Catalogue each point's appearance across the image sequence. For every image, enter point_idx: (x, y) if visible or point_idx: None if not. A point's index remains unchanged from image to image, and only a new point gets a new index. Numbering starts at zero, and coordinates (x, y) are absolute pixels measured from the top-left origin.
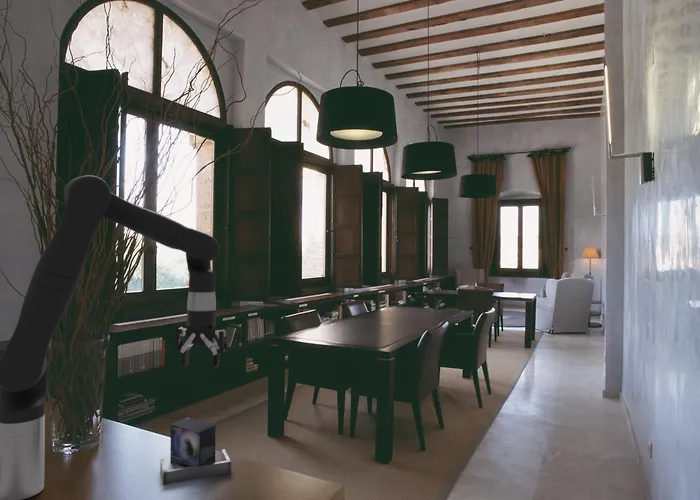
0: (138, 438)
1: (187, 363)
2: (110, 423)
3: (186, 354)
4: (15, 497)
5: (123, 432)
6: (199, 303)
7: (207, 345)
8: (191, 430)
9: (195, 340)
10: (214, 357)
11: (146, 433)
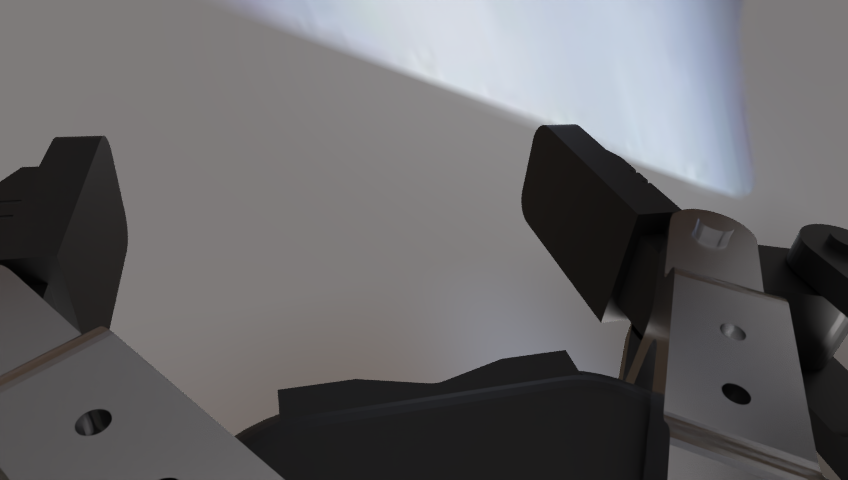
0: (613, 71)
1: (536, 190)
2: (747, 187)
3: (611, 233)
4: None
5: (685, 118)
6: None
7: (135, 375)
8: None
9: (584, 448)
10: (12, 230)
11: (596, 129)
